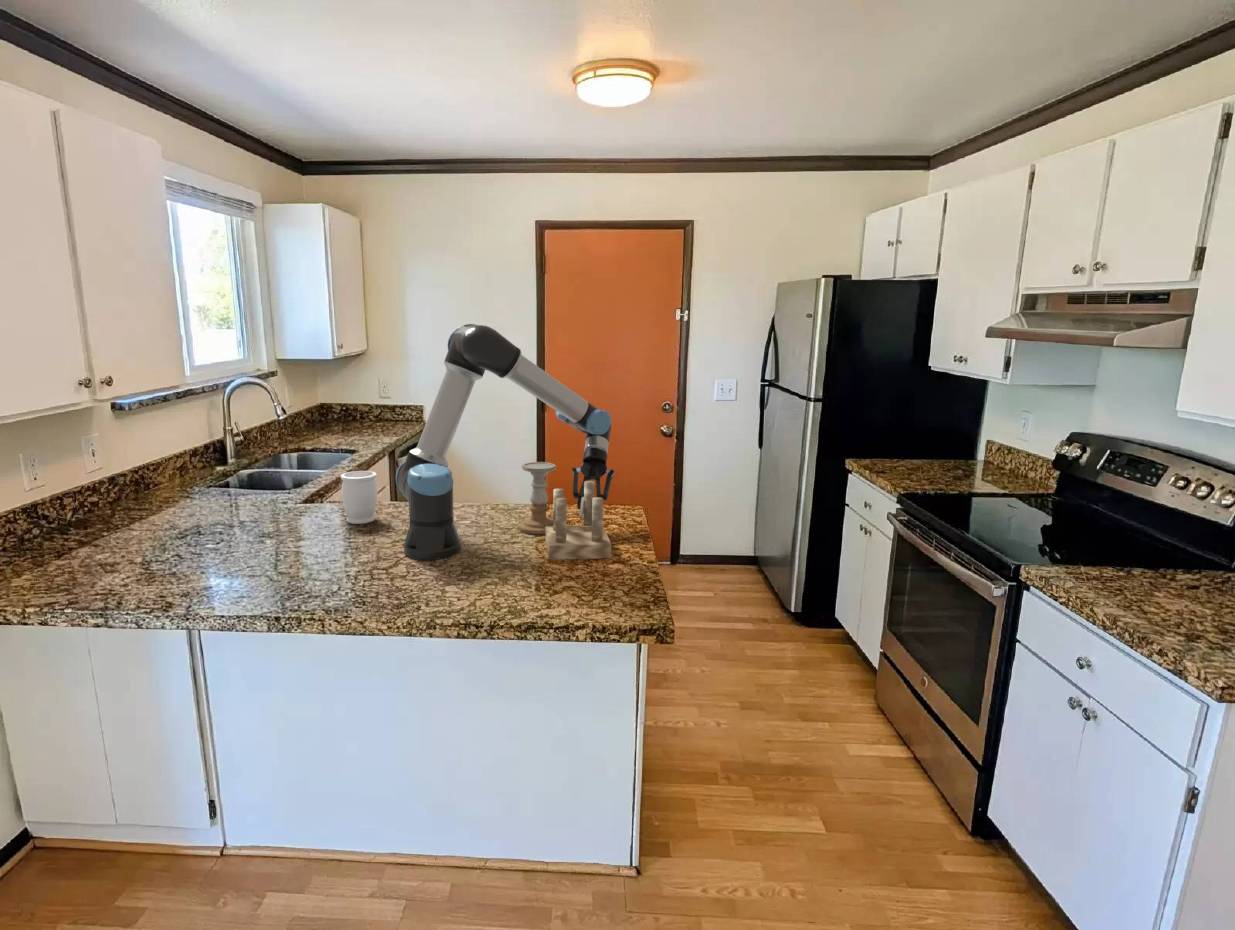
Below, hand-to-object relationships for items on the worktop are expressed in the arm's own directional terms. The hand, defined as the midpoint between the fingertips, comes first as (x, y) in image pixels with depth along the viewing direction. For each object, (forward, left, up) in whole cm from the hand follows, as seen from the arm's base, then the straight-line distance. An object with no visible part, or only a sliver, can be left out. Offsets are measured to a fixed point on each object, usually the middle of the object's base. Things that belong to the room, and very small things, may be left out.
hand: (587, 518), depth 199 cm
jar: (-69, +21, -6) cm, 72 cm away
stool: (-4, -10, -6) cm, 12 cm away
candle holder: (-14, +9, -6) cm, 18 cm away
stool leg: (+1, +4, -6) cm, 7 cm away
